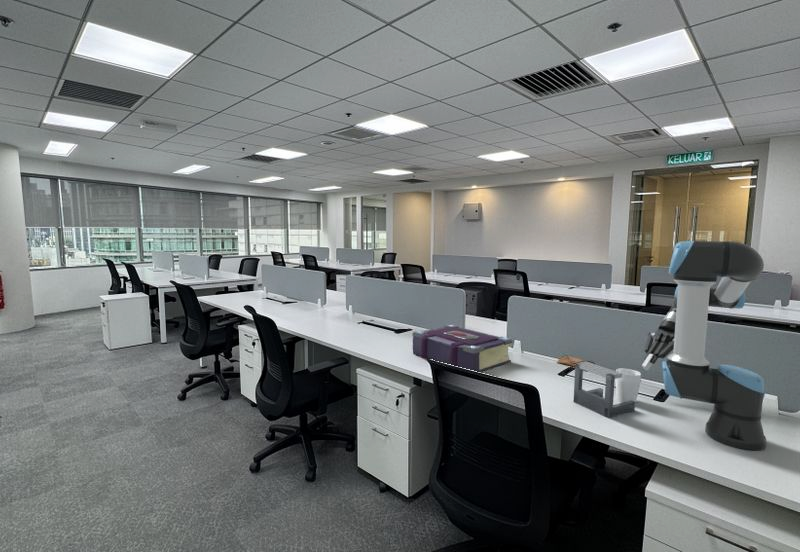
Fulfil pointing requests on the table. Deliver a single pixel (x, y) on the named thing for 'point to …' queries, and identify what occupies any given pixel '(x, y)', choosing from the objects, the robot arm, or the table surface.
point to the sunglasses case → (570, 361)
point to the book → (462, 347)
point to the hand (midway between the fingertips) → (644, 368)
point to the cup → (627, 384)
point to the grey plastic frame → (599, 391)
